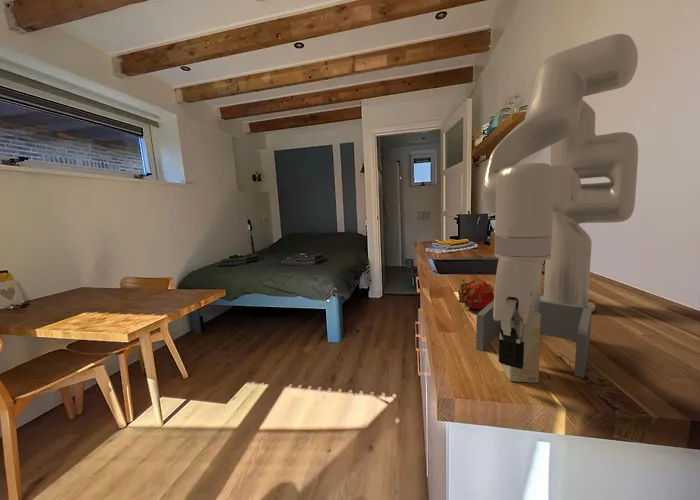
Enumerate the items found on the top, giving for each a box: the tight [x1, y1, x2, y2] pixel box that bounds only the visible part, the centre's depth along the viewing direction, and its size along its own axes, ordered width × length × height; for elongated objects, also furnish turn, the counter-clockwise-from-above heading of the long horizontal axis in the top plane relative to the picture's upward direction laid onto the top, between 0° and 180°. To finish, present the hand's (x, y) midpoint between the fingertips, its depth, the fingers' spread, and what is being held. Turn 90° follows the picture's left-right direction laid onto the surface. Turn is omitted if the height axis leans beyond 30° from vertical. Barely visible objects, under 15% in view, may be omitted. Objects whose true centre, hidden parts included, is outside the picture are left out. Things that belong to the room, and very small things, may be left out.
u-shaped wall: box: [475, 300, 593, 379], centre depth 57 cm, size 16×16×7 cm
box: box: [500, 307, 541, 384], centre depth 48 cm, size 5×4×11 cm
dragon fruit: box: [457, 279, 495, 311], centre depth 79 cm, size 8×8×12 cm
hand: (518, 352), depth 48 cm, fingers open, 9 cm apart
